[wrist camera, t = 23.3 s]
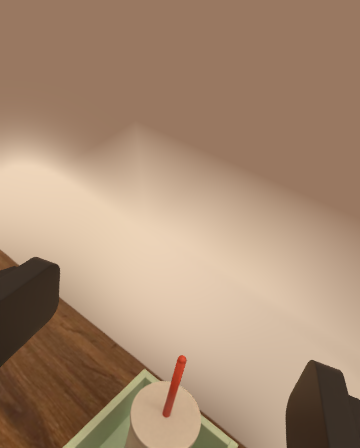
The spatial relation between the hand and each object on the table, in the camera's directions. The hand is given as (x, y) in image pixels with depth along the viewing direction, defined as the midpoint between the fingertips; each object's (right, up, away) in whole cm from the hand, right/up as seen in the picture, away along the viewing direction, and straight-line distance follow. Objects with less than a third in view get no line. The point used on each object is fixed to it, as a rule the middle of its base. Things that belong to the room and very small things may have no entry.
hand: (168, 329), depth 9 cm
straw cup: (-3, -22, +21) cm, 31 cm away
